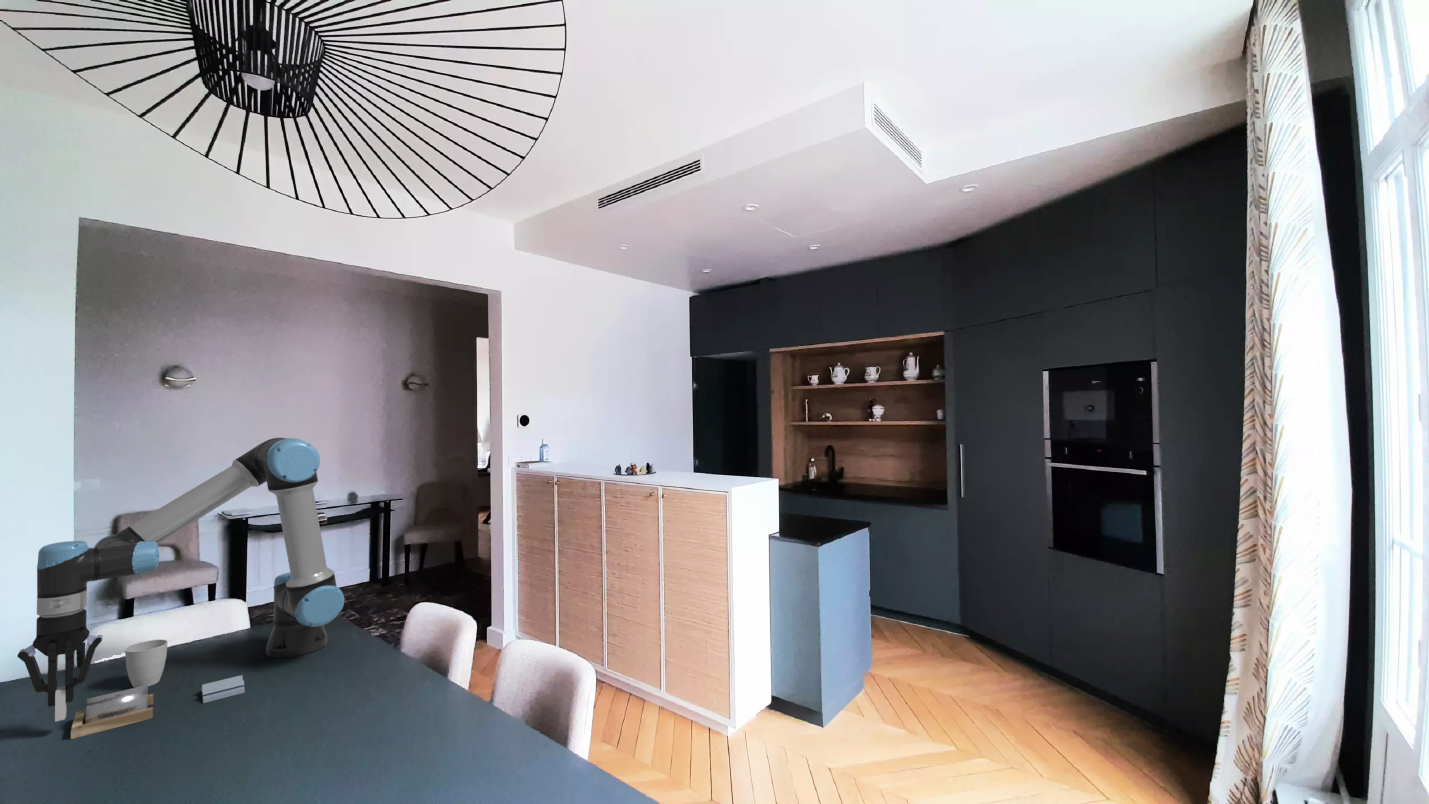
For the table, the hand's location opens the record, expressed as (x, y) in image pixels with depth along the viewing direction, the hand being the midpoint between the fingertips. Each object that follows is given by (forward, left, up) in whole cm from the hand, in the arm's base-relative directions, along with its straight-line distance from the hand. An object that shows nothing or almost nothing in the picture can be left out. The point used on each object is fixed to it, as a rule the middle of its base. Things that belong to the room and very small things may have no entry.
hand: (60, 718), depth 132 cm
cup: (-20, +13, -4) cm, 24 cm away
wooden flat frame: (0, +8, -3) cm, 9 cm away
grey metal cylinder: (0, +9, -3) cm, 10 cm away
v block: (0, +28, -3) cm, 28 cm away
